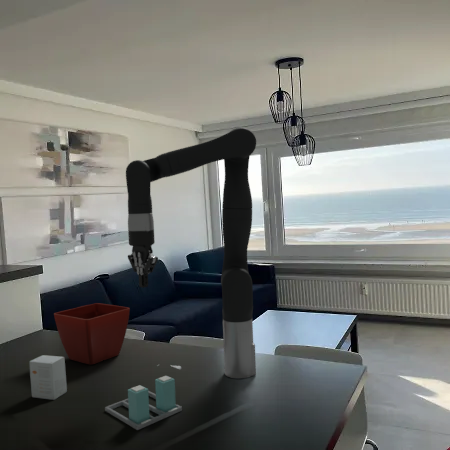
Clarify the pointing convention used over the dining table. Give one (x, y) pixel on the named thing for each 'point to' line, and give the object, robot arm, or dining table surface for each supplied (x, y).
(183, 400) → the dining table surface
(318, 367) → the dining table surface
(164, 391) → the tab
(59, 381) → the small box
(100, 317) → the plant pot
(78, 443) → the dining table surface
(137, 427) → the switch board
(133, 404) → the tab
